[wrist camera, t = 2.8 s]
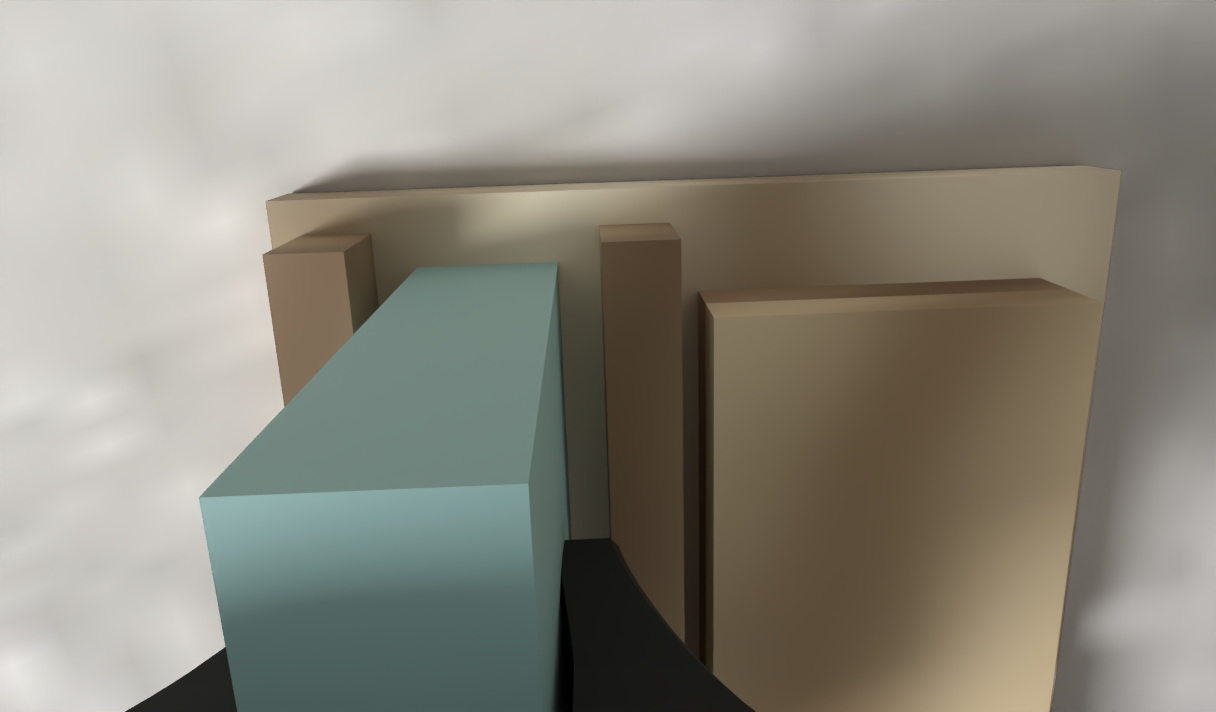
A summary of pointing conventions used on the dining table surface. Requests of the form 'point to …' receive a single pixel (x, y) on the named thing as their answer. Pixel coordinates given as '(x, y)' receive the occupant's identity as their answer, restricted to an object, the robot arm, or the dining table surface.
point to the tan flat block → (806, 294)
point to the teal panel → (408, 512)
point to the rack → (672, 297)
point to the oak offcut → (893, 497)
